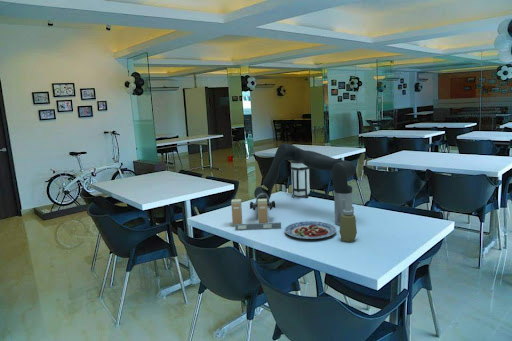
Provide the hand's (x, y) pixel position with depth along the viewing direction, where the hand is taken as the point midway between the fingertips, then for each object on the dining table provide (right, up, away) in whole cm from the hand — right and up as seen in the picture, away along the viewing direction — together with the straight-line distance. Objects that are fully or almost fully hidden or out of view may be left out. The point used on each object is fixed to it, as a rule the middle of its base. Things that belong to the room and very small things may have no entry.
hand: (262, 208), depth 215 cm
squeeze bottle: (+40, -12, -28) cm, 50 cm away
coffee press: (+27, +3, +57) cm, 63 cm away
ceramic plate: (+24, -11, -16) cm, 31 cm away
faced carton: (-14, -9, +2) cm, 17 cm away
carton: (0, -9, 0) cm, 9 cm away
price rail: (-2, -10, -7) cm, 12 cm away
